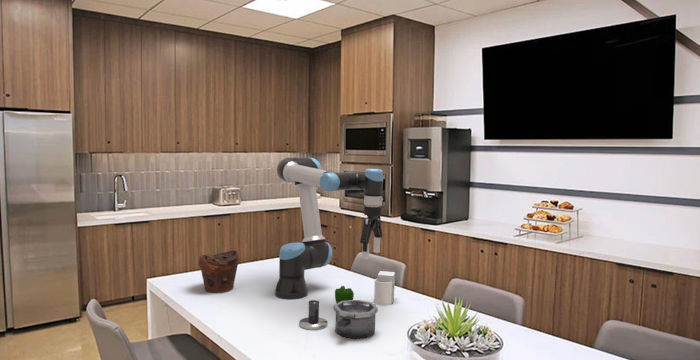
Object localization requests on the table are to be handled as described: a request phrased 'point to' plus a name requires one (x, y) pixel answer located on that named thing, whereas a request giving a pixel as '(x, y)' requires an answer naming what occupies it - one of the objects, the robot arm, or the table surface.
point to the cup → (382, 293)
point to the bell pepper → (343, 294)
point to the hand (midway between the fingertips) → (371, 255)
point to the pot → (355, 319)
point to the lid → (313, 318)
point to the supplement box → (387, 280)
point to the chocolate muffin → (219, 271)
